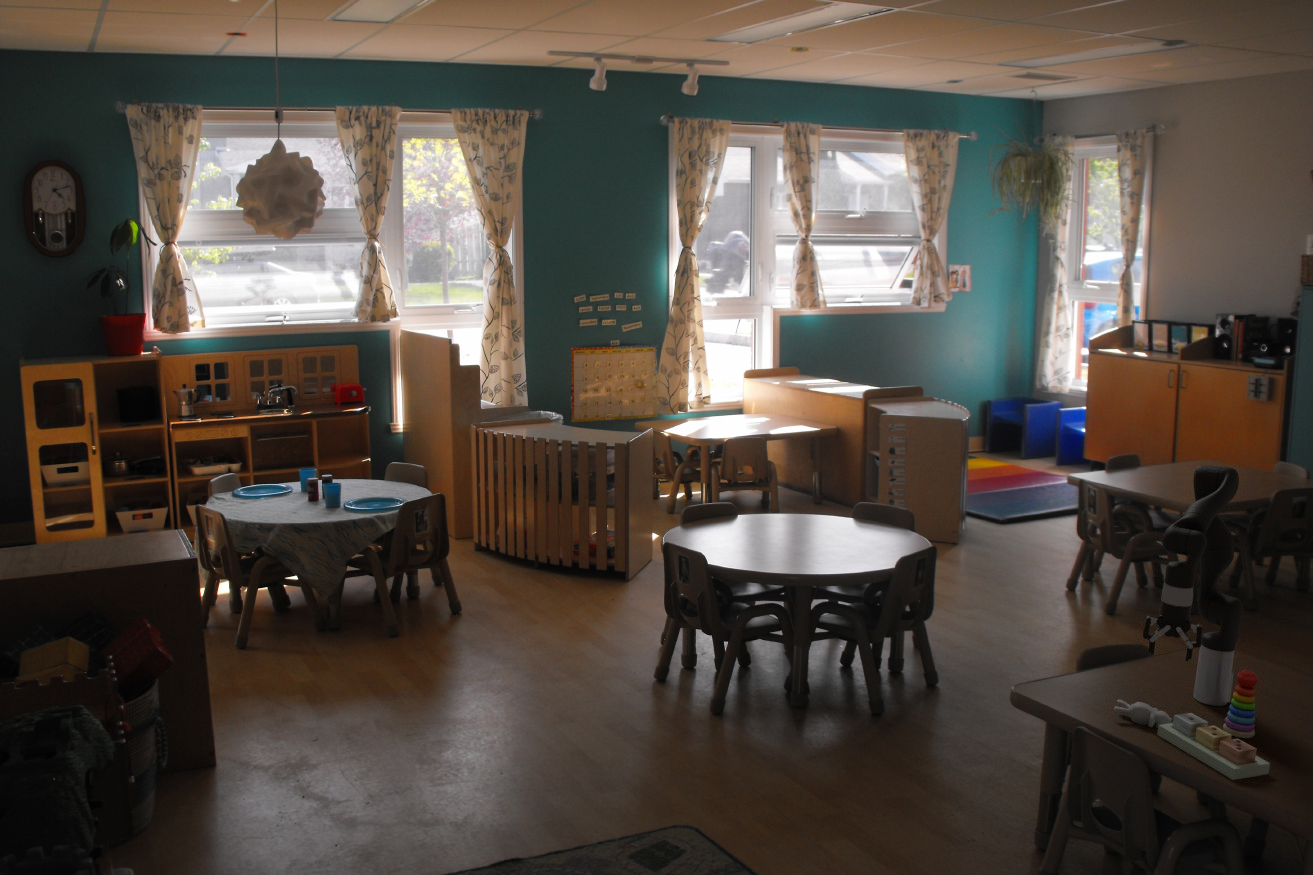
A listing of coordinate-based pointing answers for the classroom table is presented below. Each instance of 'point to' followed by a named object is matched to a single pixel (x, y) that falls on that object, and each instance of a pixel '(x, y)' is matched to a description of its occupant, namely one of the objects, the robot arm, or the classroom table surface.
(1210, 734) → the tile
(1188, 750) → the number board
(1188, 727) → the grey block
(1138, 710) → the bunny figurine
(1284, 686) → the classroom table surface
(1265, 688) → the classroom table surface
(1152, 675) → the classroom table surface
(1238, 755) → the tile
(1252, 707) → the stacking toy
